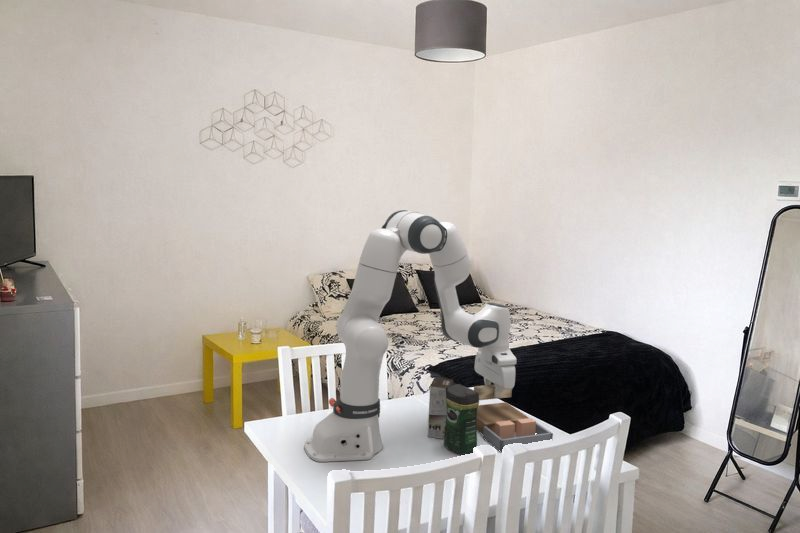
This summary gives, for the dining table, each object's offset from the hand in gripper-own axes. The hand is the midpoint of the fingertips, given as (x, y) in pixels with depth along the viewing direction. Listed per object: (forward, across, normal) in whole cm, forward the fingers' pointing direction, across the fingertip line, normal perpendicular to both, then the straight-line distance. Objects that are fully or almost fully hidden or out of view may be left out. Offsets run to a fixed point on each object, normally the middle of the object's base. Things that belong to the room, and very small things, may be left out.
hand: (492, 393), depth 205 cm
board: (+9, +3, 0) cm, 10 cm away
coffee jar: (+9, +16, -19) cm, 27 cm away
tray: (+9, +16, 0) cm, 19 cm away
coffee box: (+9, +4, -20) cm, 23 cm away
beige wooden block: (+1, 0, 0) cm, 1 cm away
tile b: (+6, +14, +4) cm, 15 cm away
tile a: (+6, +13, -4) cm, 15 cm away
